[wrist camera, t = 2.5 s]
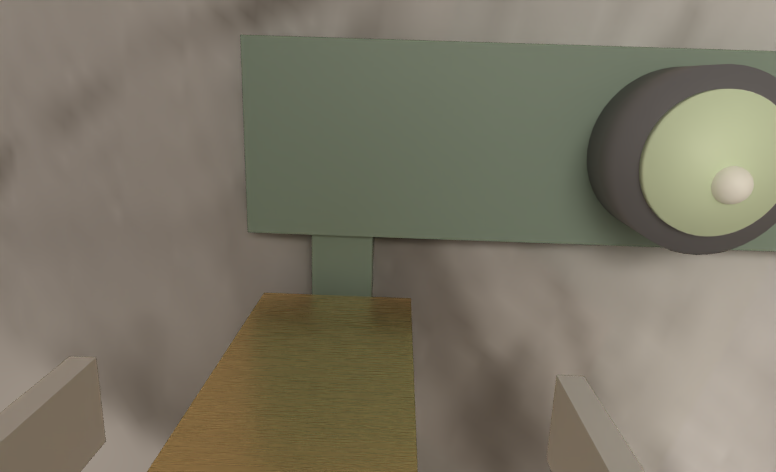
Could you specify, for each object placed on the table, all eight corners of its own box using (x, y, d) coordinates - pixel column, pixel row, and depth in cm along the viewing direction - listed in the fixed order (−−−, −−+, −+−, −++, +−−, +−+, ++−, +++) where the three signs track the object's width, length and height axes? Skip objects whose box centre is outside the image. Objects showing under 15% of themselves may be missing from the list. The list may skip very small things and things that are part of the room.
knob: (271, 281, 18) (56, 610, 7) (410, 287, 18) (423, 629, 7) (274, 404, 20) (95, 856, 8) (404, 409, 20) (409, 873, 8)
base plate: (250, 38, 17) (202, 23, 13) (1095, 63, 17) (1325, 57, 13) (262, 367, 20) (225, 442, 16) (976, 396, 20) (1130, 479, 16)
